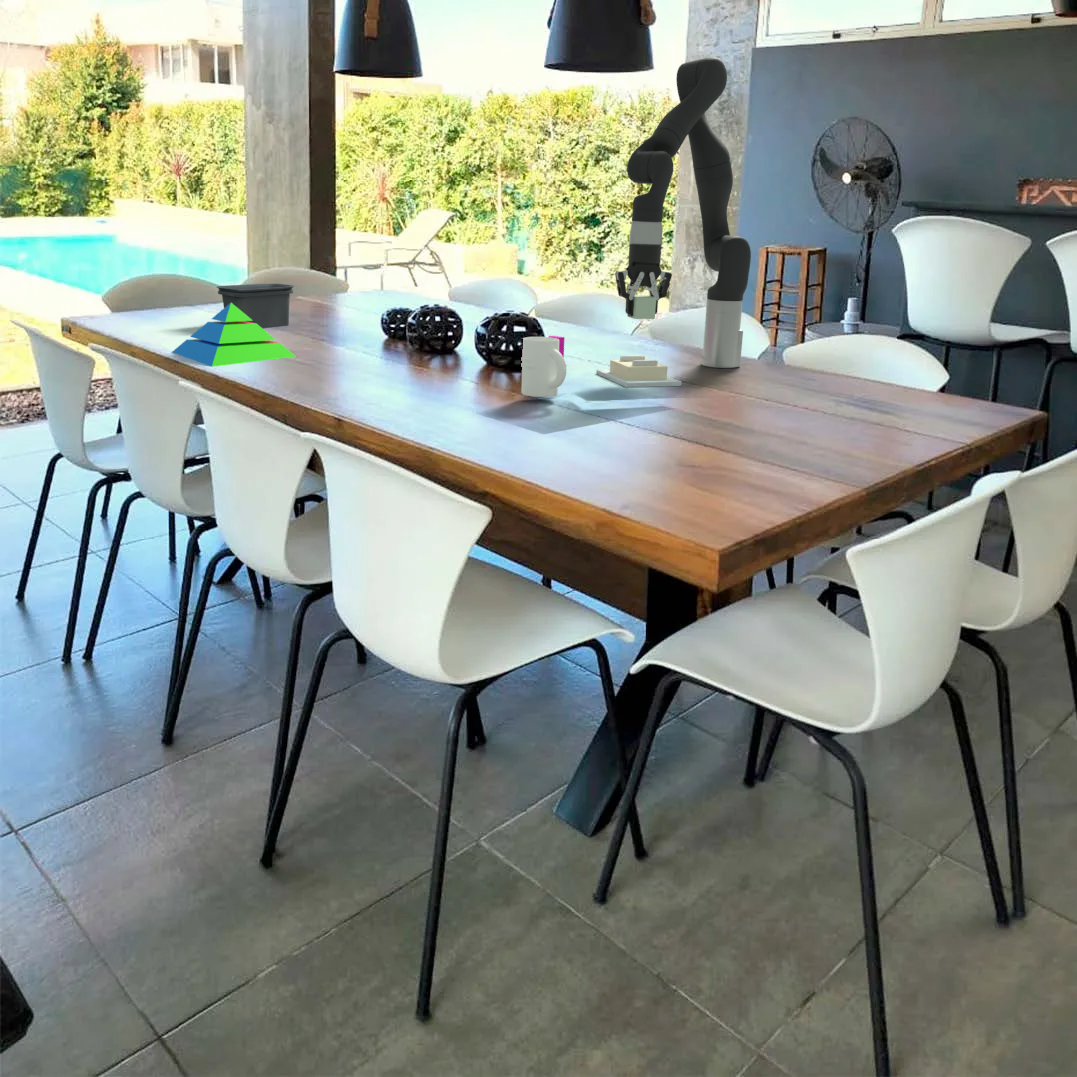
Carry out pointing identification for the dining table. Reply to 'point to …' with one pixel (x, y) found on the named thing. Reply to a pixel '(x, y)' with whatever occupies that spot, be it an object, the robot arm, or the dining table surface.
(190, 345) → the pyramid toy
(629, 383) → the base
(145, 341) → the dining table surface
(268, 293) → the storage bin
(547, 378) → the mug
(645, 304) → the sage cube
